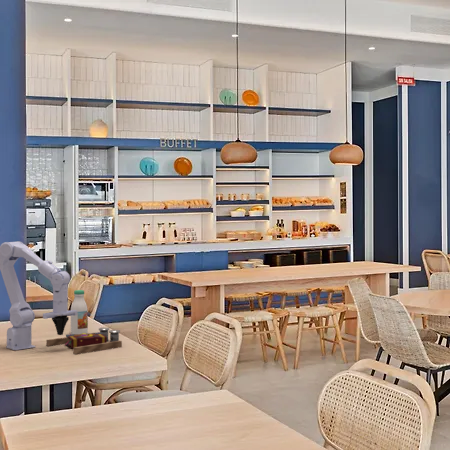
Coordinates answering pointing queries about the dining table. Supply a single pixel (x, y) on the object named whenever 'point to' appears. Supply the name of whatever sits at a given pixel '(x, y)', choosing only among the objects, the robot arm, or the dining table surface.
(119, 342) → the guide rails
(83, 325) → the milk bottle
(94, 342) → the decorative book
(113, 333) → the boss posts
